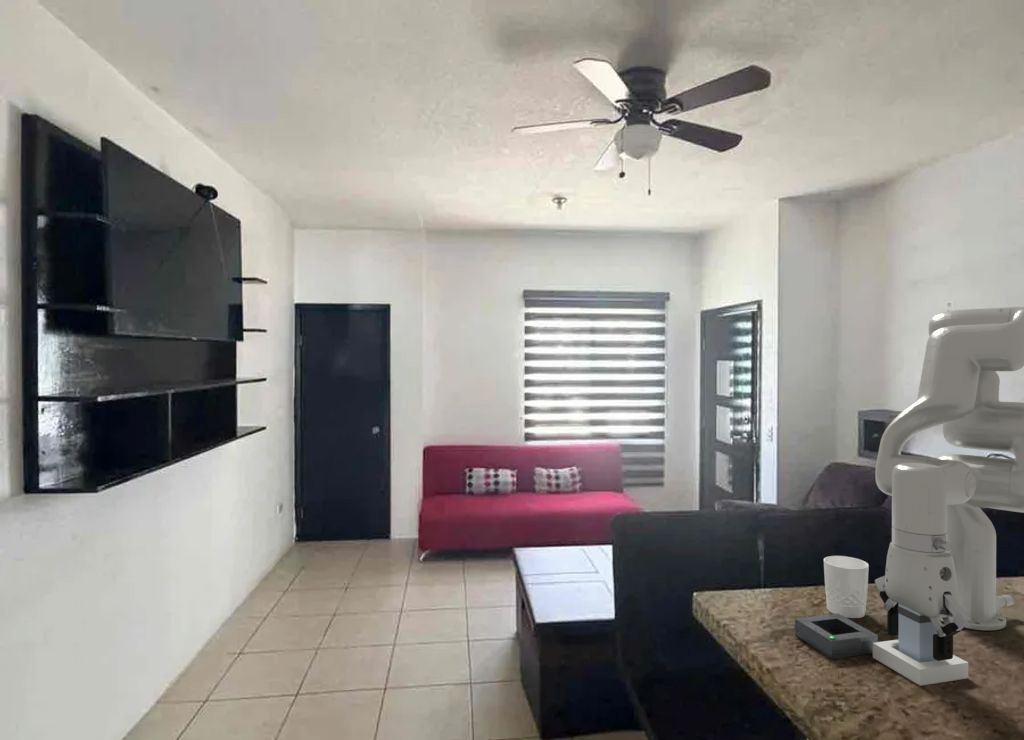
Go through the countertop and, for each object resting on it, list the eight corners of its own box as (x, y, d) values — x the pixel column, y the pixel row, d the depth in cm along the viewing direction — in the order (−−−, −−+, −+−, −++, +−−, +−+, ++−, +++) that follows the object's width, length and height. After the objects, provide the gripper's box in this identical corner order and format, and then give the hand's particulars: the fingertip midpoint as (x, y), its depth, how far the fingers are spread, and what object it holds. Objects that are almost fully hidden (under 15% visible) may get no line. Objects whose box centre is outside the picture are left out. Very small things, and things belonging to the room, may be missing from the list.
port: (837, 629, 114) (837, 612, 114) (877, 652, 105) (877, 633, 105) (795, 634, 112) (795, 617, 112) (831, 658, 103) (831, 640, 103)
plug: (918, 660, 102) (918, 601, 102) (940, 672, 98) (940, 610, 98) (898, 663, 101) (897, 603, 101) (919, 675, 97) (919, 613, 97)
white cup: (866, 607, 124) (866, 558, 124) (870, 622, 117) (870, 571, 117) (822, 601, 127) (822, 553, 127) (824, 616, 120) (824, 565, 120)
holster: (917, 651, 105) (917, 636, 105) (968, 678, 96) (968, 662, 96) (872, 657, 103) (872, 642, 103) (920, 685, 94) (920, 669, 94)
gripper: (989, 554, 92) (989, 669, 92) (893, 524, 109) (893, 621, 109) (949, 558, 90) (948, 676, 90) (858, 527, 107) (858, 626, 107)
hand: (918, 645), depth 100 cm, fingers open, 8 cm apart
